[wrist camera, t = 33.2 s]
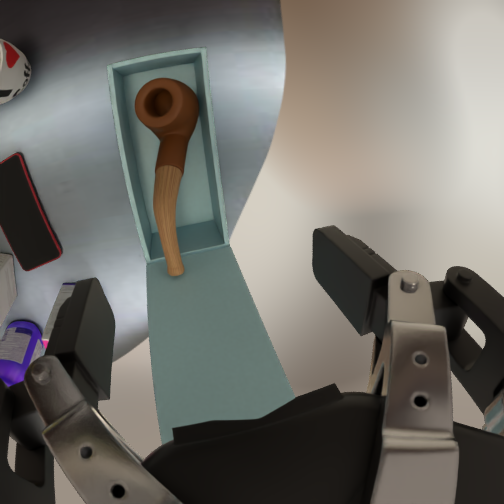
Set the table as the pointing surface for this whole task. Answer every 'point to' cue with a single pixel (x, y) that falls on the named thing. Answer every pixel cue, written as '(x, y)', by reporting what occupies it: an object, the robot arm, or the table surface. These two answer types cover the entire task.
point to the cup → (12, 71)
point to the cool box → (146, 150)
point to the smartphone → (24, 217)
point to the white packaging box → (6, 285)
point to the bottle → (18, 350)
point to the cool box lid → (209, 345)
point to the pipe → (168, 153)
